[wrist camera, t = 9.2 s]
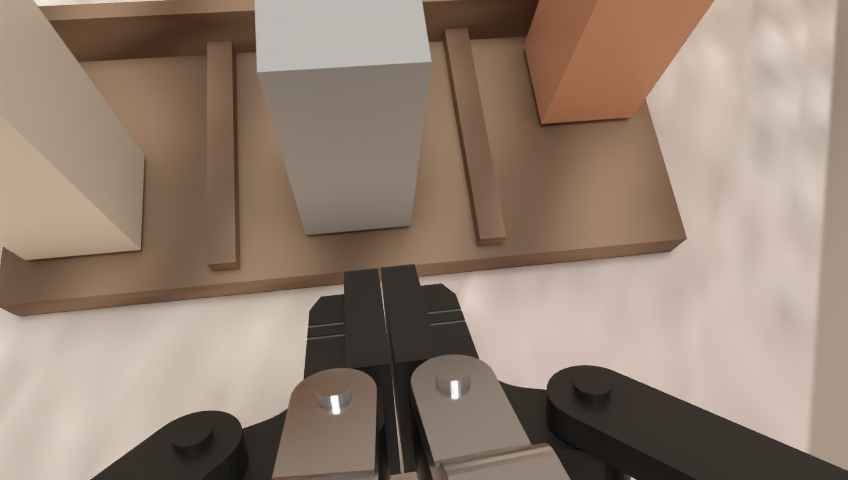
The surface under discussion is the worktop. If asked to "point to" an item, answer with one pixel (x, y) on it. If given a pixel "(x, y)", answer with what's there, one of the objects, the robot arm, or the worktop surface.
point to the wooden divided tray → (269, 183)
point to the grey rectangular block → (346, 105)
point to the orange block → (603, 53)
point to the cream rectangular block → (60, 149)
